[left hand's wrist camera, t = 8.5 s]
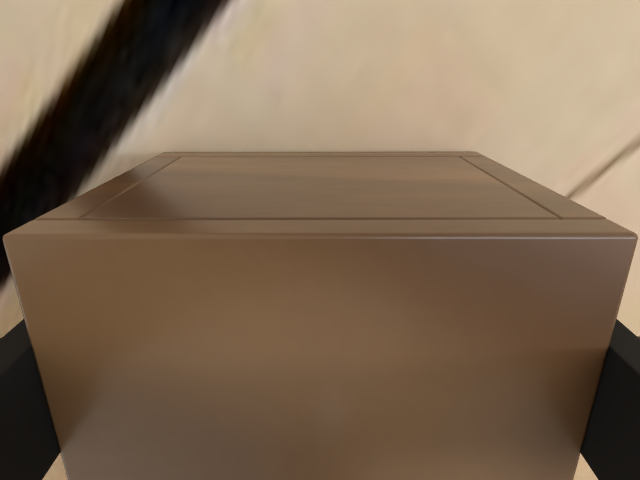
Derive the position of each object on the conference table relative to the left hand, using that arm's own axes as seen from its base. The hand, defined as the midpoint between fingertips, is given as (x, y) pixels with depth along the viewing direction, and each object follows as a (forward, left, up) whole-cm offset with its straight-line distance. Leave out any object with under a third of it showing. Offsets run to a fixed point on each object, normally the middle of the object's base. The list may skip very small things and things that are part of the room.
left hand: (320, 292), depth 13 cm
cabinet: (+6, -1, -4) cm, 7 cm away
